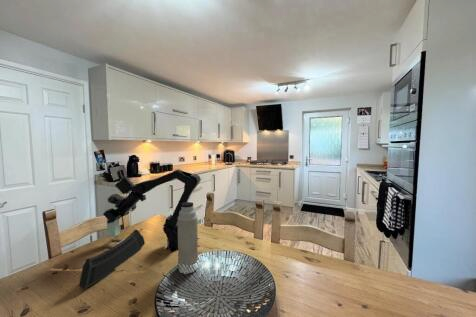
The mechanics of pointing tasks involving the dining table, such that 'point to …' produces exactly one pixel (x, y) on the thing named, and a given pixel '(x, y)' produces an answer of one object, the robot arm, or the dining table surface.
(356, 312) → the dining table surface
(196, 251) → the thermos bottle
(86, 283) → the magazine
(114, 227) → the pale green block
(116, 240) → the rack
